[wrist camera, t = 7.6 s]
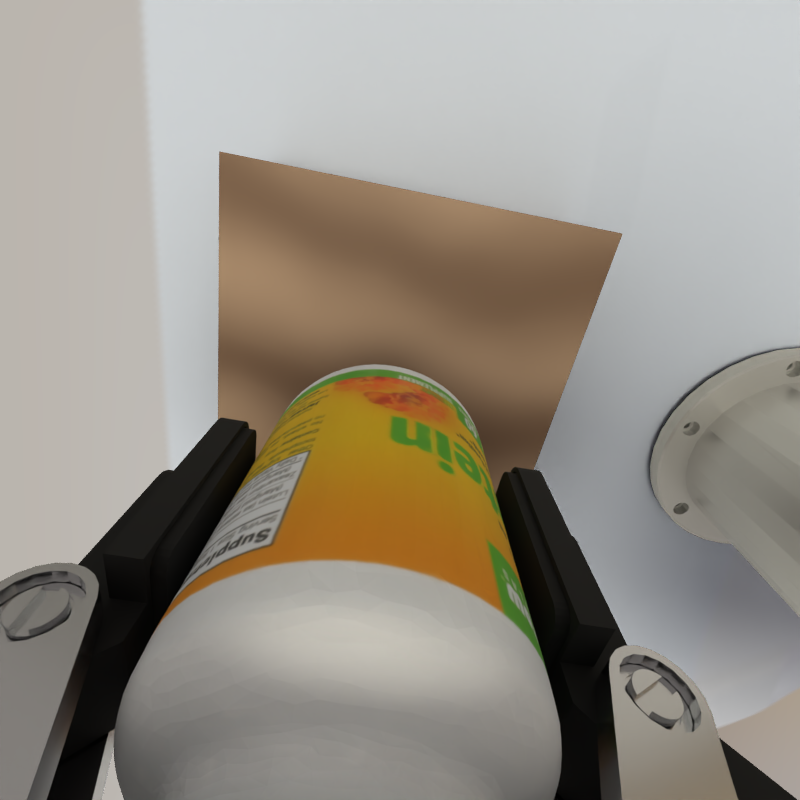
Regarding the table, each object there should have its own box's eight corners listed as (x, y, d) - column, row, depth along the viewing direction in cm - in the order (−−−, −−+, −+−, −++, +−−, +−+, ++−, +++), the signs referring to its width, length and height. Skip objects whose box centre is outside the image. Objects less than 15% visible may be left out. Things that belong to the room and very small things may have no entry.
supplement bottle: (521, 459, 12) (884, 1307, 3) (377, 561, 13) (312, 1294, 4) (379, 312, 10) (149, 1210, 1) (235, 449, 12) (-319, 1248, 3)
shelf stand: (272, 164, 20) (22, 102, 7) (566, 224, 21) (816, 266, 8) (257, 456, 26) (115, 693, 14) (479, 493, 27) (538, 750, 15)
